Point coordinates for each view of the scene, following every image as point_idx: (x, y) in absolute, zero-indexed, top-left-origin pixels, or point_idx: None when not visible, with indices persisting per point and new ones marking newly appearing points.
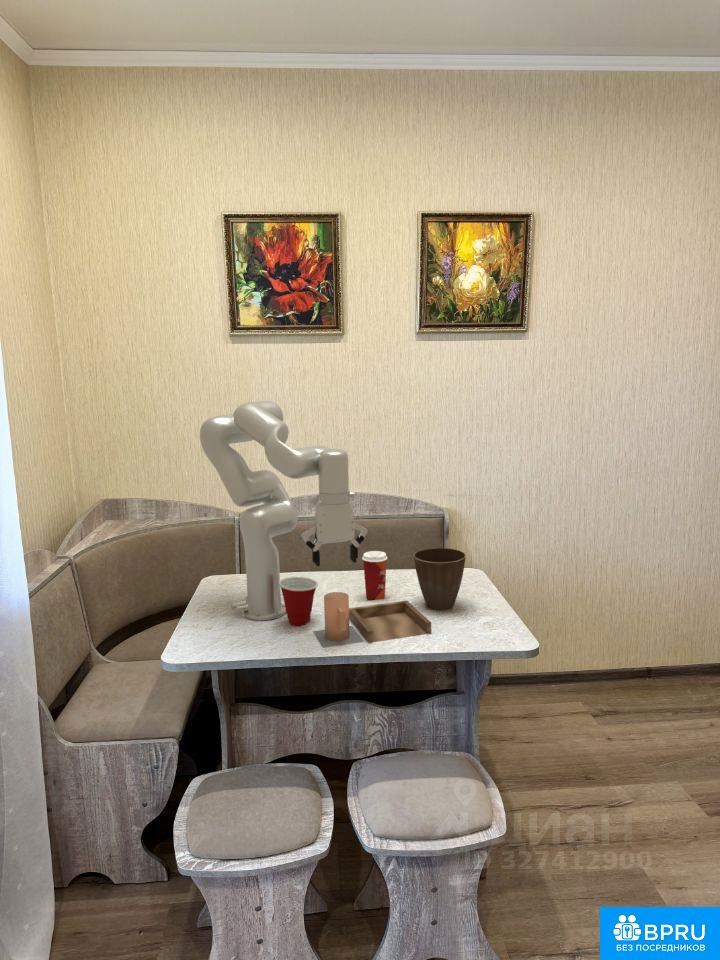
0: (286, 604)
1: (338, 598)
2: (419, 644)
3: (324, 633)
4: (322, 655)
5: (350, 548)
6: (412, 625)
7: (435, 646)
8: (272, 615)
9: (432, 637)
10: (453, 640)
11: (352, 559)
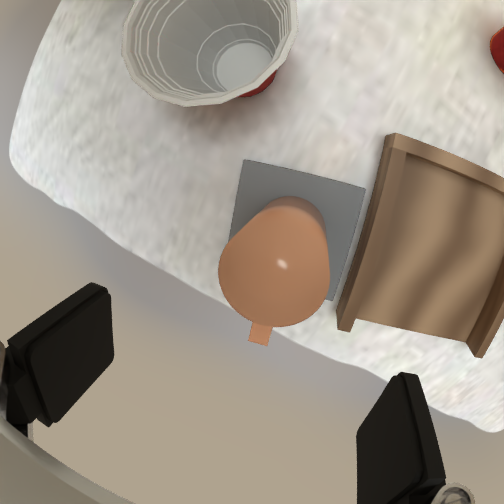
0: (175, 62)
1: (267, 304)
2: (422, 363)
3: (267, 193)
4: (212, 293)
5: (404, 461)
6: (481, 286)
7: (434, 382)
8: None
9: (464, 349)
10: (474, 375)
11: (368, 427)
